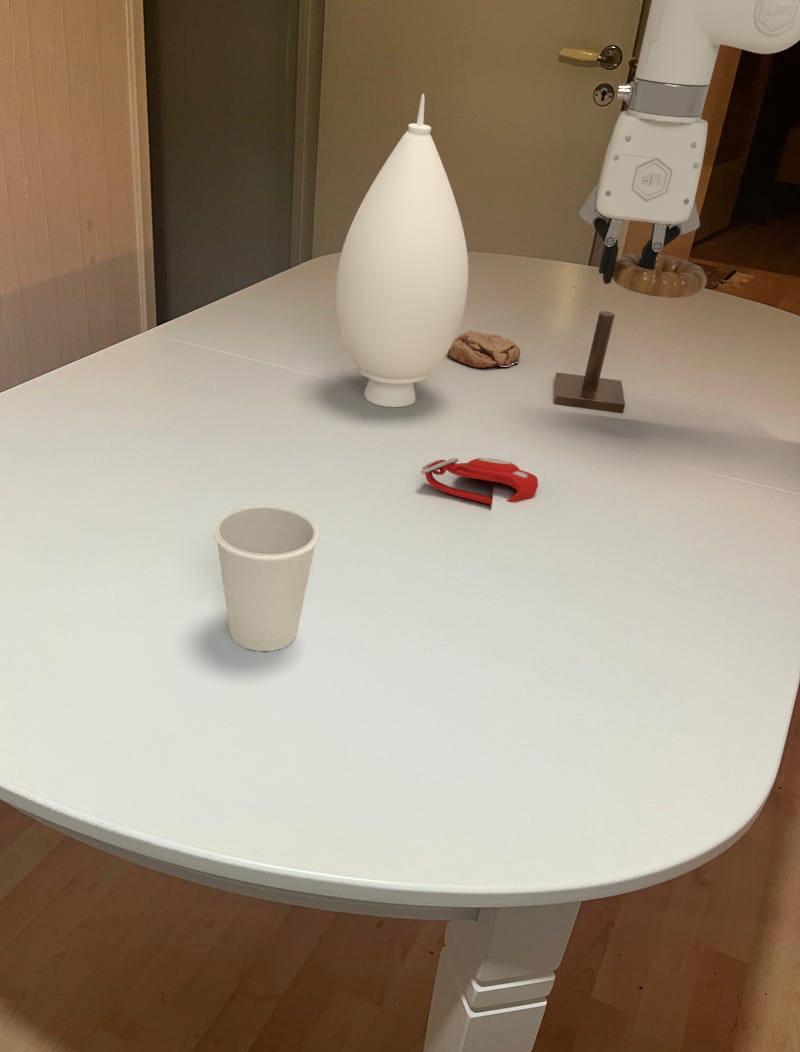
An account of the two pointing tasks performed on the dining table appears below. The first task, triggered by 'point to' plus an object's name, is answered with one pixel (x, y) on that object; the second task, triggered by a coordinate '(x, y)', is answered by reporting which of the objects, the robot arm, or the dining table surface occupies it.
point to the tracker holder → (483, 477)
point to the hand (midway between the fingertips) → (623, 281)
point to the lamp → (403, 272)
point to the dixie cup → (265, 572)
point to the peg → (592, 377)
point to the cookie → (484, 350)
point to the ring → (660, 276)
